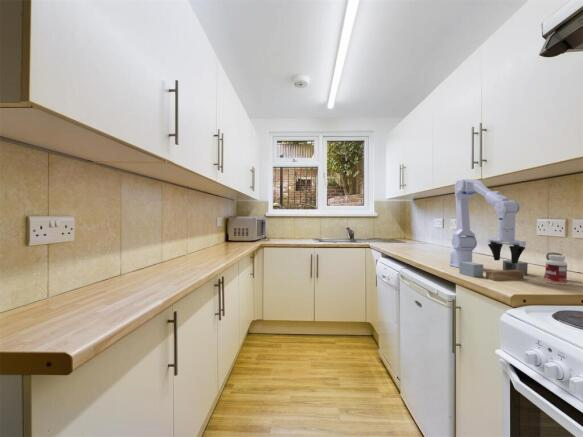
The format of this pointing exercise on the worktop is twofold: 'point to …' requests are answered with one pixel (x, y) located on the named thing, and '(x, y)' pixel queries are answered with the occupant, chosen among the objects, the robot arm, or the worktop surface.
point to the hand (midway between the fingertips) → (505, 261)
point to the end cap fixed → (515, 266)
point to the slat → (504, 274)
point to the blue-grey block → (471, 269)
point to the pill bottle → (556, 270)
